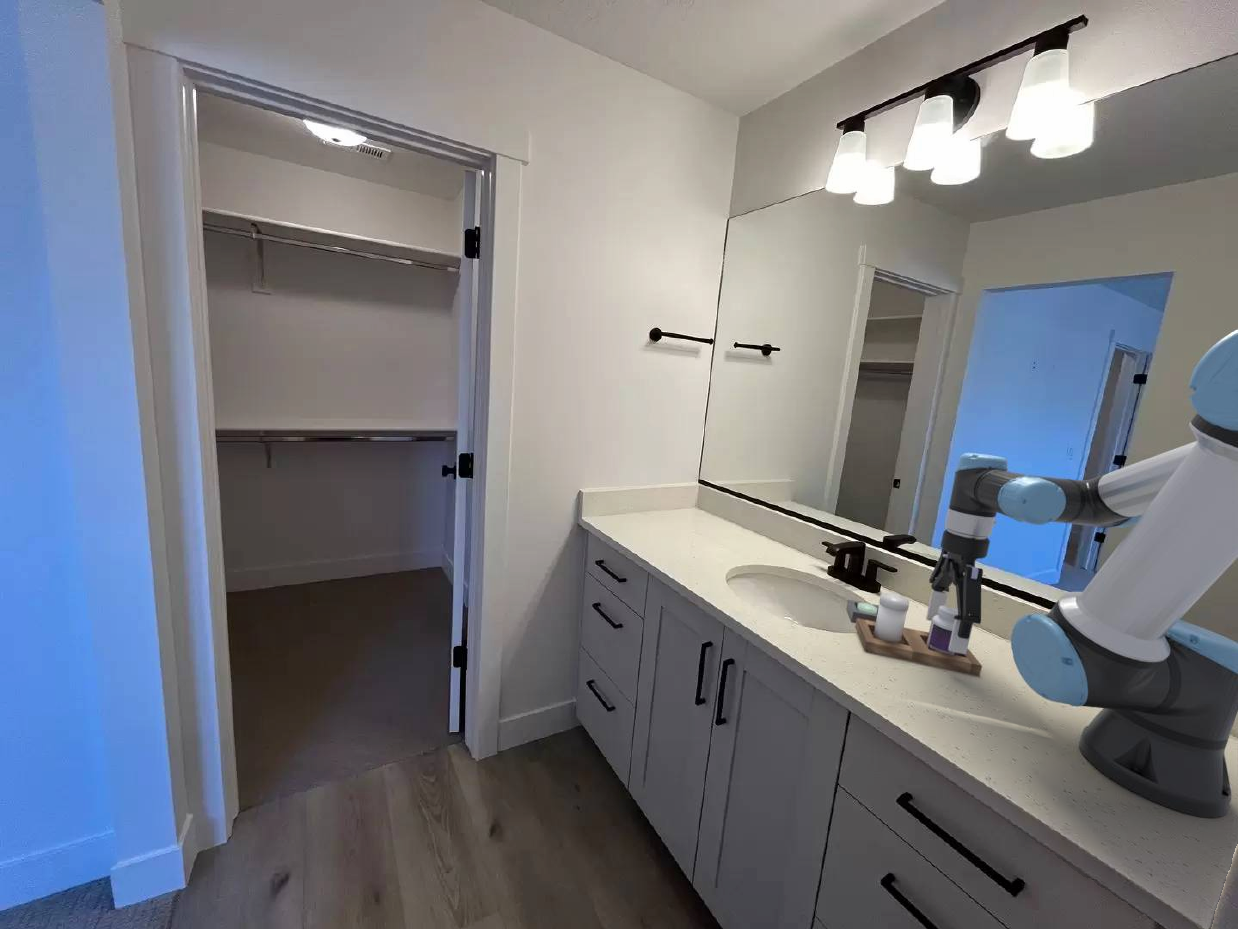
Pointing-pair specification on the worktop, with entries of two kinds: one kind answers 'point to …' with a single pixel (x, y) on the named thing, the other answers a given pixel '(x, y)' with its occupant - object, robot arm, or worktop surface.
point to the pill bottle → (942, 630)
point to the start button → (867, 608)
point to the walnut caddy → (915, 649)
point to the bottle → (891, 617)
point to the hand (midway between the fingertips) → (944, 635)
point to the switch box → (859, 612)
